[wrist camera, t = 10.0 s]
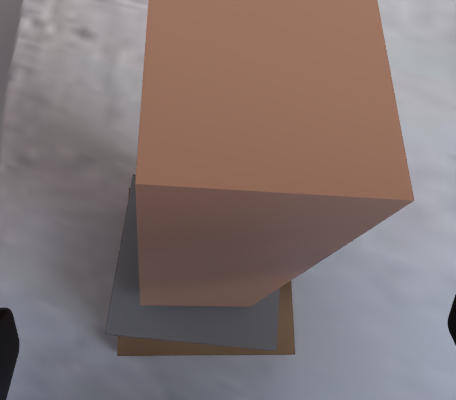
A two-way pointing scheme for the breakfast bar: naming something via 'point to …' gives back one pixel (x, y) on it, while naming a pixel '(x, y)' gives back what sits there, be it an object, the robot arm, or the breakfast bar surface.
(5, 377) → the robot arm
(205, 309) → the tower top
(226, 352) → the tower base
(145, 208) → the pillar
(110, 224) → the breakfast bar surface
